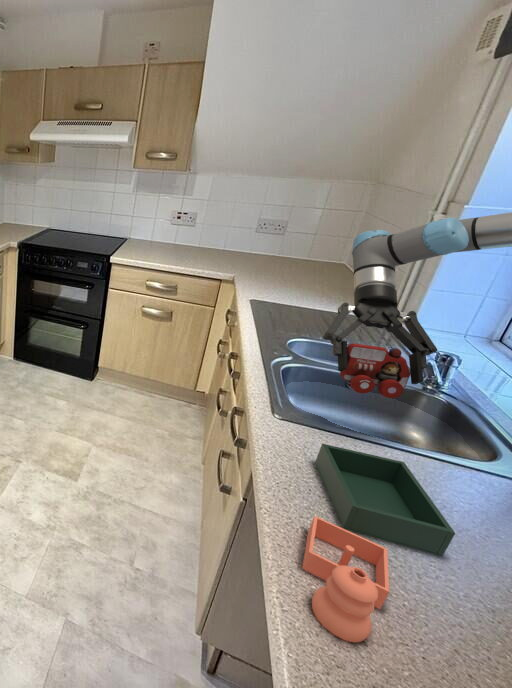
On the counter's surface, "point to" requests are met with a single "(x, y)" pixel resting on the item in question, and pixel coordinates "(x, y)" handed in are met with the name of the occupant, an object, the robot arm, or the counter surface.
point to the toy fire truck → (376, 370)
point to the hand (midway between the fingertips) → (379, 376)
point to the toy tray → (382, 500)
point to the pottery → (346, 581)
